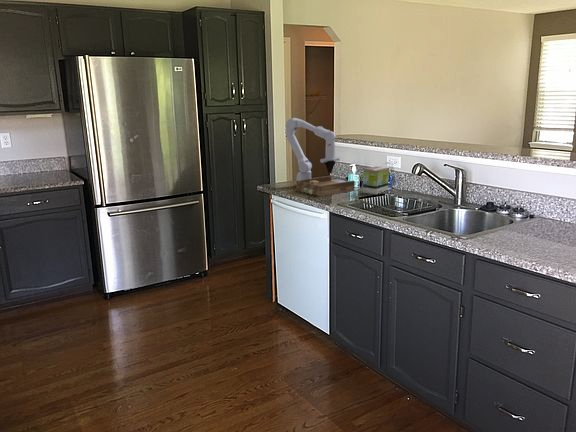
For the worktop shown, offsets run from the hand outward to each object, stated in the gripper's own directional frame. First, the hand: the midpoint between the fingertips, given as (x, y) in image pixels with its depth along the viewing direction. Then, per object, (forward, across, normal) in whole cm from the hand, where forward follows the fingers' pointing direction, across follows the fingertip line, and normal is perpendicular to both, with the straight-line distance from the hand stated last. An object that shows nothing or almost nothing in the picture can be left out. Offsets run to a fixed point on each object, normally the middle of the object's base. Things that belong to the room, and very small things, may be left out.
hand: (329, 172), depth 322 cm
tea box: (+10, +13, -27) cm, 31 cm away
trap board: (+9, -8, -5) cm, 13 cm away
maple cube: (+6, -17, -5) cm, 19 cm away
